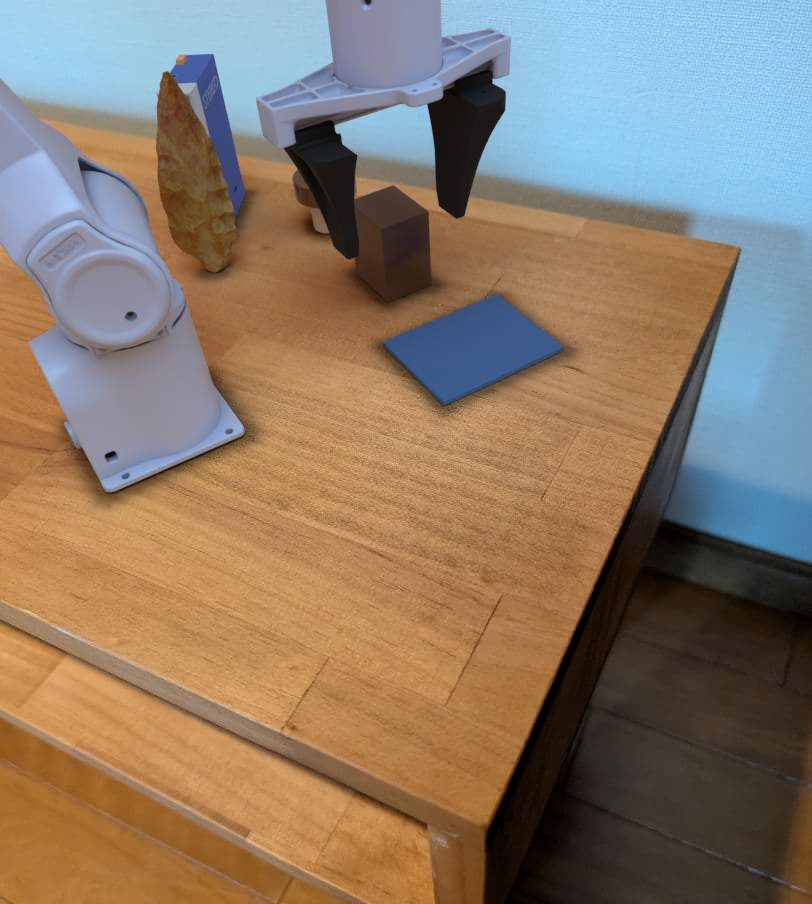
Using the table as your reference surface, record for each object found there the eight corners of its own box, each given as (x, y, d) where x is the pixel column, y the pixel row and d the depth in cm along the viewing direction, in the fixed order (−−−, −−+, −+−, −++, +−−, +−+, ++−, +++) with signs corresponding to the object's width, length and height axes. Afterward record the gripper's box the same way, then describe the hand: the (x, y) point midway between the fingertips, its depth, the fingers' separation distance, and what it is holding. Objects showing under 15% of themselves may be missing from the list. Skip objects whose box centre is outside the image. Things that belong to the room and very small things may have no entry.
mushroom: (318, 247, 65) (306, 178, 61) (290, 222, 68) (278, 155, 64) (371, 227, 67) (364, 159, 62) (342, 203, 70) (334, 136, 65)
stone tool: (192, 287, 62) (129, 85, 51) (182, 274, 64) (118, 74, 52) (250, 266, 64) (201, 64, 52) (238, 253, 65) (189, 54, 54)
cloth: (443, 406, 51) (443, 401, 51) (383, 346, 56) (382, 341, 56) (563, 351, 54) (564, 346, 54) (496, 298, 59) (496, 293, 59)
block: (388, 302, 59) (381, 228, 55) (356, 273, 62) (347, 201, 58) (432, 284, 61) (429, 211, 56) (399, 257, 63) (393, 184, 59)
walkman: (216, 194, 72) (179, 50, 63) (246, 194, 72) (212, 48, 63) (196, 239, 67) (152, 90, 58) (227, 239, 67) (188, 88, 58)
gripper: (281, 23, 33) (326, 301, 44) (553, -51, 37) (534, 219, 48) (217, -16, 37) (273, 248, 48) (469, -79, 41) (469, 176, 52)
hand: (400, 230), depth 48 cm, fingers open, 7 cm apart
